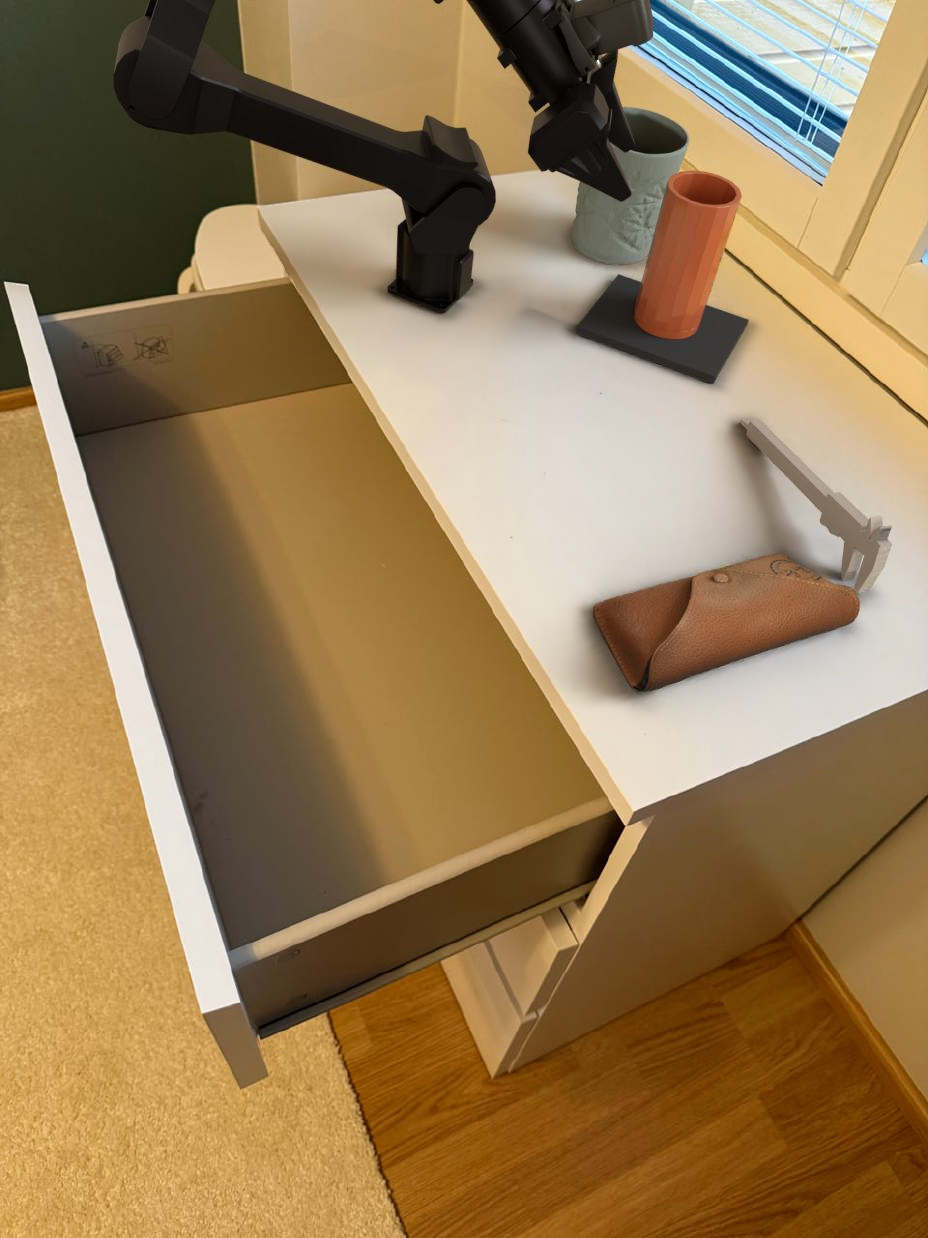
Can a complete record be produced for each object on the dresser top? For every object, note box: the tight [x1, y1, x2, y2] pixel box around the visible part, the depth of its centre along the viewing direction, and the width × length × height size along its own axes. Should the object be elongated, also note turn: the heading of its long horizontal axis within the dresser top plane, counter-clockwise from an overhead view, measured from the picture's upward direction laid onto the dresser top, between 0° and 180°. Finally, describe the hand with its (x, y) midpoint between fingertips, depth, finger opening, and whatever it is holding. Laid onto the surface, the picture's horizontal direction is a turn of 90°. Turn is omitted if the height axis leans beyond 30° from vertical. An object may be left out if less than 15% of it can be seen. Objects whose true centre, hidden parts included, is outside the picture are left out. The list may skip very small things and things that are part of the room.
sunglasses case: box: [592, 553, 861, 693], centre depth 66 cm, size 18×7×7 cm
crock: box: [634, 170, 743, 339], centre depth 85 cm, size 6×6×13 cm
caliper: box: [740, 418, 893, 594], centre depth 74 cm, size 20×1×6 cm, turn 15°
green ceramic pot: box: [571, 106, 690, 266], centre depth 95 cm, size 10×10×12 cm
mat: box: [575, 274, 750, 384], centre depth 90 cm, size 14×11×1 cm
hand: (628, 172), depth 81 cm, fingers open, 9 cm apart
